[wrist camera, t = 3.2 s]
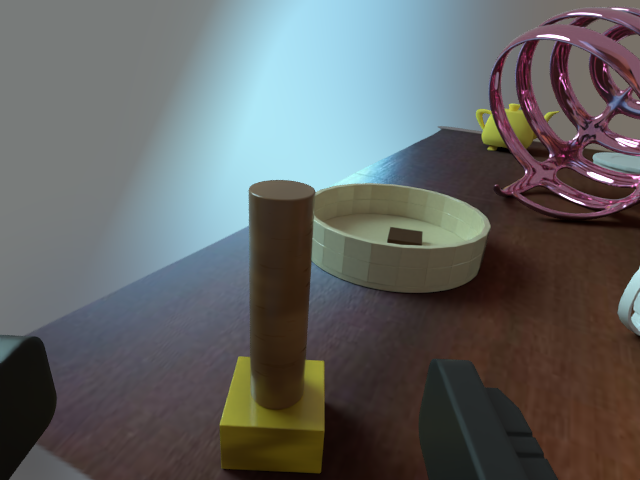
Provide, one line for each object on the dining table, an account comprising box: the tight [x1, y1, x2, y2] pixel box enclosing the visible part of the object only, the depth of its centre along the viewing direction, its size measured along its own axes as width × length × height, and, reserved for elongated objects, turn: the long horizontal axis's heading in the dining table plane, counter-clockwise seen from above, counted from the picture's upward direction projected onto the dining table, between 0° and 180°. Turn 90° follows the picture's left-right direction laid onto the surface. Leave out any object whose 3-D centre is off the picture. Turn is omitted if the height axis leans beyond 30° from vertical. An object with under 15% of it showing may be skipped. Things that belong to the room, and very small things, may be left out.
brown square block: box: [387, 227, 423, 246], centre depth 46 cm, size 4×4×1 cm
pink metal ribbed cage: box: [489, 7, 640, 221], centre depth 59 cm, size 28×28×27 cm
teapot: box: [476, 104, 559, 153], centre depth 102 cm, size 18×11×11 cm, turn 62°
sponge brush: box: [220, 180, 325, 473], centre depth 21 cm, size 5×5×14 cm
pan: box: [311, 183, 491, 293], centre depth 46 cm, size 19×19×4 cm
